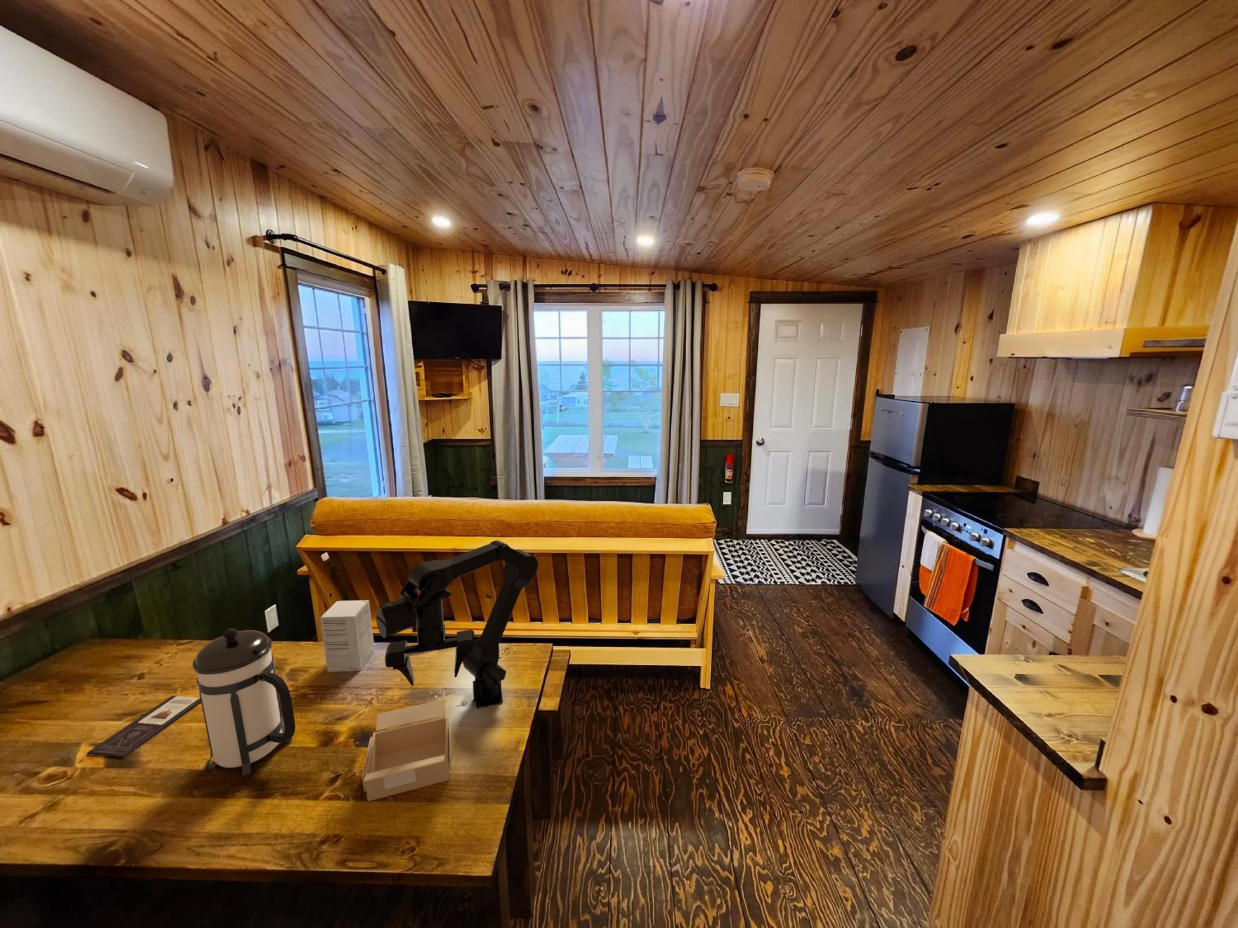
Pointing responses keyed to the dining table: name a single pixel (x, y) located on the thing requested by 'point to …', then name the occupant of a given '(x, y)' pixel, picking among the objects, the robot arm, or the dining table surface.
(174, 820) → the dining table surface
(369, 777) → the flap camera side
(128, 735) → the chocolate bar
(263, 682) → the coffee press
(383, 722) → the tan cardboard box flap
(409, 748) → the carton
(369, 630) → the supplement box
